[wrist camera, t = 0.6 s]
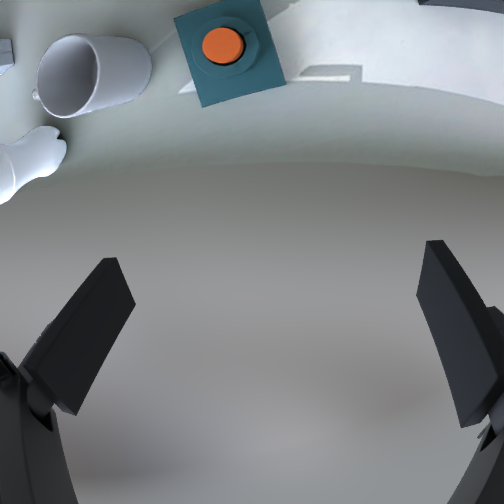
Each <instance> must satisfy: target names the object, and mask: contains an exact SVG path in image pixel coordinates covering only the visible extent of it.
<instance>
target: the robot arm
mask: <svg viewBox="0 0 504 504" xmlns="http://www.w3.org/2000/svg"><path fill="white" fill-rule="evenodd" d="M416 296H417V298H418V301H419V303H420V306H421V308H422V310H423V313H424V316H425V318H426V321H427V323H428V326H429V328H430V331H431V334H432V336H433V339H434V342H435V344H436V347H437V350H438V353H439V356H440V359H441V362H442V365H443V368H444V371H445V374H446V377H447V380H448V383H449V387H450V390H451V393H452V397H453V400H454V404H455V407H456V411H457V415H458V419H459V422H460V426H461V428H464V427H468V426H471V425H475V424H478V423H480V422H481V421H482V420H483V419H484V418H485V416H486V415H487V414H488V415H489V418H490V423H489V424H488V425H487V426H486V427H485V428H484V429H483V430H482V432H481V433H480V434H479V435H478V437H477V438H481V437H482V436H483V437H482V439H481V441H480V444H479V446H478V448H477V450H476V452H475V454H474V457H473V458H472V460H471V462H470V464H469V466H468V468H467V470H466V472H465V474H464V476H463V477H462V479H461V481H460V483H459V485H458V486H457V488H456V490H455V492H454V493H453V495H452V497H451V498H450V500H449V502H448V503H447V504H504V314H503V313H502V312H501V311H500V310H499V309H497V308H496V307H495V306H493V307H486V306H485V304H484V302H483V300H482V299H481V297H480V295H479V294H478V292H477V290H476V289H475V287H474V286H473V284H472V282H471V281H470V279H469V278H468V276H467V275H466V273H465V272H464V270H463V268H462V267H461V266H460V264H459V262H458V261H457V260H456V258H455V257H454V255H453V254H452V252H451V251H450V250H449V248H448V247H447V245H446V244H445V242H444V241H443V240H432V241H426V248H425V253H424V259H423V265H422V270H421V275H420V280H419V285H418V290H417V294H416ZM135 305H136V303H135V302H134V299H133V297H132V295H131V292H130V290H129V287H128V285H127V283H126V280H125V278H124V275H123V273H122V270H121V268H120V265H119V263H118V260H117V258H116V257H114V258H104V259H102V260H101V262H100V263H99V264H98V265H97V266H96V268H95V269H94V270H93V271H92V272H91V274H90V275H89V276H88V277H87V279H86V280H85V281H84V282H83V283H82V285H81V286H80V287H79V288H78V290H77V291H76V292H75V293H74V295H73V296H72V297H71V298H70V300H69V301H68V302H67V304H66V305H65V306H64V307H63V309H62V310H61V311H60V313H59V314H58V316H57V317H56V318H55V319H54V320H53V321H52V322H51V323H50V324H48V325H47V327H46V328H45V330H44V331H43V332H42V333H41V336H39V338H38V339H37V340H36V343H34V345H33V346H32V348H31V349H30V350H29V352H28V353H27V355H26V356H25V358H24V359H23V361H22V362H21V364H20V365H19V367H18V368H16V366H15V365H14V364H13V363H12V361H11V360H10V359H9V358H8V356H7V355H6V354H5V353H4V352H0V504H78V501H77V498H76V495H75V492H74V489H73V485H72V482H71V479H70V475H69V471H68V468H67V464H66V460H65V456H64V452H63V448H62V444H61V439H60V434H59V429H58V423H57V418H56V413H55V411H54V410H53V409H52V406H53V404H54V403H55V404H56V405H57V406H58V407H59V408H60V409H61V410H62V411H63V412H66V413H69V414H72V415H75V416H76V415H77V413H78V411H79V409H80V407H81V405H82V403H83V401H84V399H85V397H86V395H87V393H88V391H89V389H90V387H91V385H92V383H93V381H94V379H95V377H96V376H97V373H98V371H99V370H100V368H101V366H102V364H103V362H104V360H105V359H106V357H107V355H108V353H109V351H110V349H111V347H112V346H113V344H114V342H115V340H116V338H117V337H118V335H119V333H120V331H121V330H122V328H123V326H124V324H125V322H126V321H127V319H128V317H129V316H130V314H131V312H132V310H133V309H134V307H135Z"/></svg>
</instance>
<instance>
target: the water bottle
mask: <svg viewBox="0 0 504 504" xmlns="http://www.w3.org/2000/svg"><path fill="white" fill-rule="evenodd" d="M59 134H60V131H59V130H58V129H56V128H54V127H51V126H39V127H36V128H34V129H32V130H30V131H29V132H28V133H27V134H26V135H25V136H23V137H22V138H21V139H19V140H17V141H16V142H14V143H12V144H9V145H5V144H0V204H2V203H3V202H4V201H8V200H9V199H10V198H11V197H12V195H13V194H14V193H15V192H16V191H17V190H18V189H19V188H20V187H22V186H23V185H24V184H25V183H27V182H28V181H30V180H32V179H34V178H36V177H40V176H48V175H50V174H51V173H53V172H54V171H55V170H57V169H58V167H59V165H60V164H61V161H62V160H63V158H64V156H65V154H66V149H67V147H66V143H65V141H64V140H58V139H57V137H58V136H59Z"/></svg>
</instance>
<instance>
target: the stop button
mask: <svg viewBox="0 0 504 504" xmlns="http://www.w3.org/2000/svg"><path fill="white" fill-rule="evenodd" d="M243 46H244V45H243V41H242V38H241V37H240V36H239V35H238V34H237V33H236V32H234V31H233V30H231V29H229V28H217V29H214V30H212V31H211V32H209V33H208V34H207V35H206V37H205V38H204V40H203V45H202V47H203V52H204V54H205V55H206V57H207V58H208V59H210V60H212V61H214V62H218V63H230V62H233V61H235V60H236V59H237V58H239V56H240V55H241V53H242V51H243Z"/></svg>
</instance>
